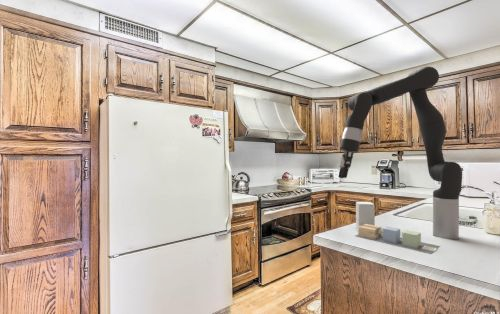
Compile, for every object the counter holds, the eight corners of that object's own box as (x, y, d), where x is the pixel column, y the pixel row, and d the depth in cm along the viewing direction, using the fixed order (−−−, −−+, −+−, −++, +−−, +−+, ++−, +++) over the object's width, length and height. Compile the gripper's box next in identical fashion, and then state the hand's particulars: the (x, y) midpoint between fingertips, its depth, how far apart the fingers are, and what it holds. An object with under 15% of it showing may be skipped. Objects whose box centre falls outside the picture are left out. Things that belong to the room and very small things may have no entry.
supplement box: (374, 230, 127) (375, 204, 126) (358, 230, 128) (358, 203, 128) (371, 226, 134) (371, 201, 134) (355, 226, 135) (355, 201, 135)
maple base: (365, 232, 123) (365, 223, 123) (381, 235, 117) (381, 226, 117) (358, 235, 118) (358, 226, 118) (374, 239, 113) (374, 229, 113)
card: (424, 246, 104) (424, 245, 104) (436, 249, 101) (436, 248, 101) (421, 248, 101) (421, 247, 101) (433, 251, 98) (433, 250, 98)
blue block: (387, 237, 114) (387, 226, 114) (400, 240, 111) (400, 228, 111) (382, 240, 111) (382, 228, 111) (395, 243, 107) (395, 231, 107)
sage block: (406, 242, 109) (406, 230, 109) (420, 245, 105) (420, 232, 105) (402, 244, 106) (402, 232, 106) (416, 248, 102) (416, 235, 102)
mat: (366, 231, 126) (366, 230, 126) (440, 247, 104) (440, 246, 104) (354, 236, 117) (354, 235, 117) (431, 255, 96) (431, 254, 96)
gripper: (363, 139, 103) (354, 179, 102) (357, 144, 117) (348, 180, 116) (344, 135, 104) (334, 175, 104) (339, 140, 118) (331, 176, 118)
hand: (342, 177), depth 110 cm, fingers open, 8 cm apart
